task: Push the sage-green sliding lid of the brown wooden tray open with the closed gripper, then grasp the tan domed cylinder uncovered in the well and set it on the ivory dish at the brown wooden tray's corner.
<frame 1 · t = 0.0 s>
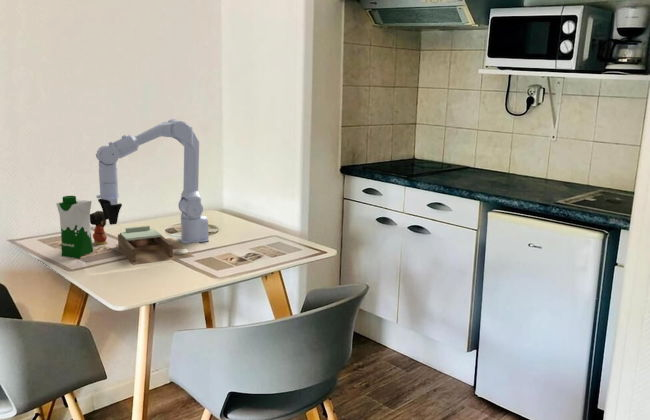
hand: (110, 221, 201), 10 cm above the table, fingers open, 7 cm apart
tan domed cylinder: (141, 247, 205), resting on brown wooden tray
milk carton: (78, 255, 198), on the table
lid: (140, 232, 204), point 6 cm above the table, slide at 0.0 cm
figurine: (100, 244, 210), on the table
brown wooden tray: (153, 251, 203), on the table
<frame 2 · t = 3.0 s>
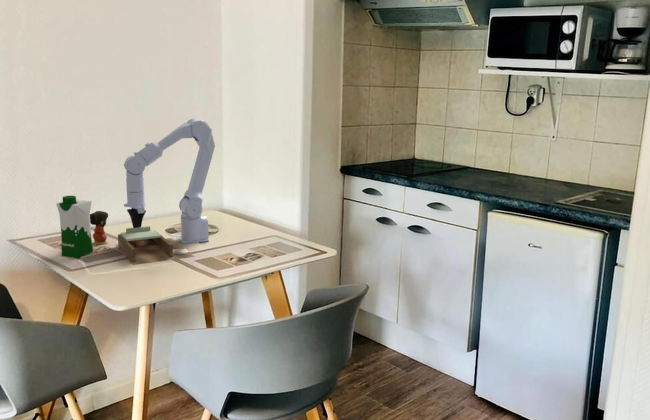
hand: (137, 229, 207), 6 cm above the table, fingers closed
lid: (140, 233, 203), point 6 cm above the table, slide at 0.7 cm, touching gripper
everything else where it was.
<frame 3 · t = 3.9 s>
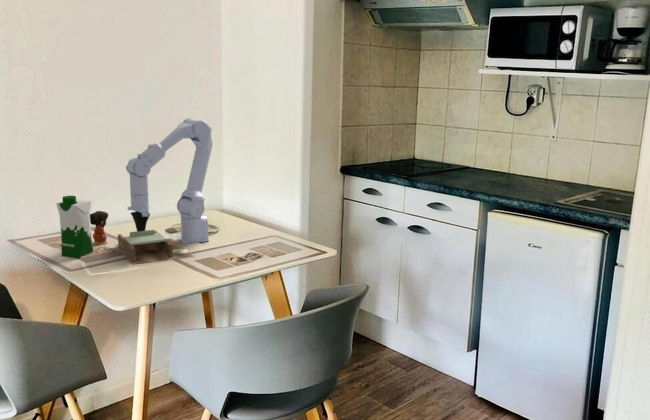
hand: (141, 232, 203), 6 cm above the table, fingers closed
lid: (145, 236, 199), point 6 cm above the table, slide at 5.9 cm, touching gripper
everything else where it was.
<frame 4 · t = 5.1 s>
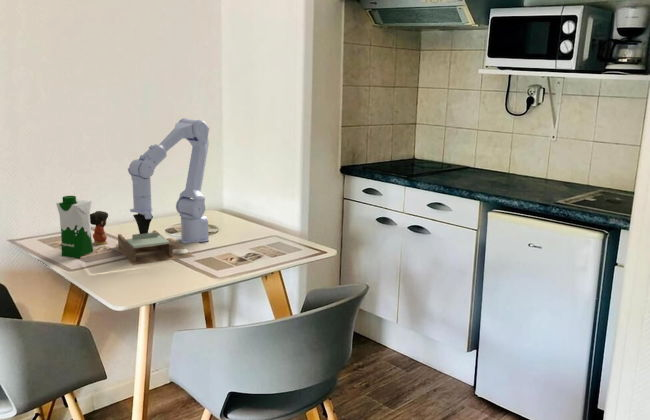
hand: (143, 235, 200), 6 cm above the table, fingers closed
lid: (147, 239, 196), point 6 cm above the table, slide at 9.5 cm, touching gripper
everything else where it was.
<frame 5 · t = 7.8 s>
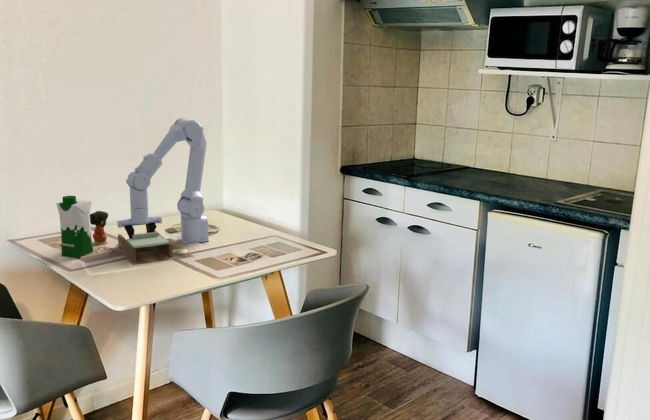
hand: (140, 245, 205), 1 cm above the table, fingers closed on tan domed cylinder, 5 cm apart
tan domed cylinder: (141, 247, 205), resting on brown wooden tray, touching gripper
lid: (147, 239, 196), point 6 cm above the table, slide at 9.5 cm
everything else where it was.
when the fingers open (3 cm above the table, at t = 11.3 s): tan domed cylinder drops 1 cm, resting on brown wooden tray.
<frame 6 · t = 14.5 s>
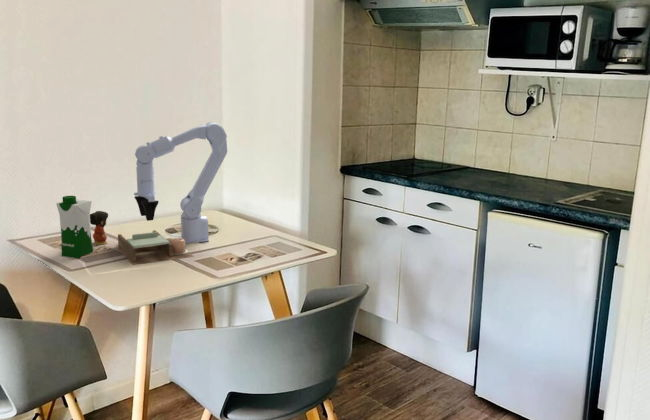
hand: (147, 217, 210), 9 cm above the table, fingers open, 7 cm apart
tan domed cylinder: (178, 251, 201), point 1 cm above the table, touching brown wooden tray
everything else where it was.
at the end: lid slide at 9.5 cm; tan domed cylinder 0.4 cm from the target spot, point 0.9 cm above the table; tan domed cylinder tilted 0° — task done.
